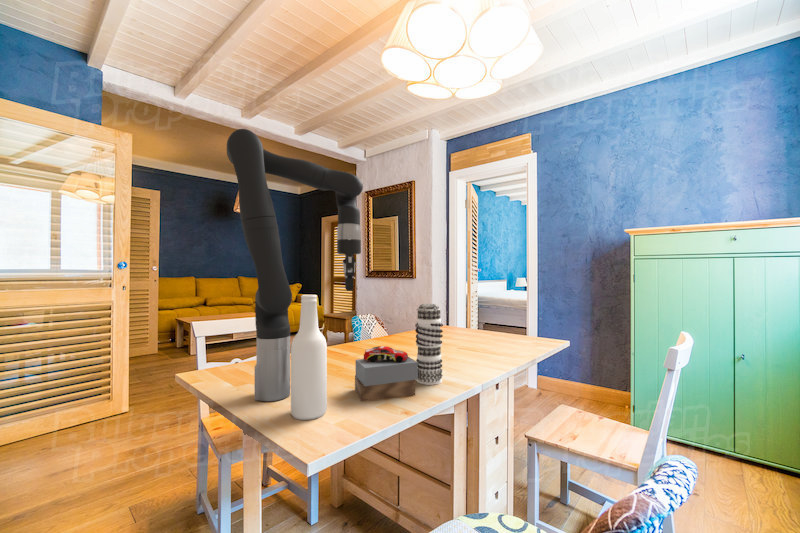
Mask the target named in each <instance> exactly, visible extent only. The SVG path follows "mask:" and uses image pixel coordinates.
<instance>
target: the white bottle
mask: <svg viewBox="0 0 800 533" xmlns="http://www.w3.org/2000/svg"><path fill="white" fill-rule="evenodd" d="M317 297H318V295H317V294H302V295H301V296H300V299H301V300H300V303H301V305H300V306H301V307H300V318H299V329H298V331H297V333H296V334H295V336H294V337H293V338H292V340H291V343H290V414H291V415H292V417H293V418H294V419H296V420H299V421H311V420H315V419H318V418H321V417H323V416H324V415H325V414H326V412H327V409H328V403H327V402H328V395H327V394H328V391H327V390H328V380H327V379H328V376H327V375H328V368H327V367H328V363H327V362H328V361H327V360H328V359H327V358H328V353H327V352H328V348H327V347H328V346H327V345H328V344H327V340H326V337H325V336H324V334H323V333H322V332H321V331H320V328H319V317H318V316H319V315H318V306H317V305H318V304H317V302H318V299H317Z"/></svg>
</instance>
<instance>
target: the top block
mask: <svg viewBox="0 0 800 533" xmlns="http://www.w3.org/2000/svg"><path fill="white" fill-rule="evenodd" d="M355 375H356V377H357V378H358V379H359V381H360V382H361V383H362V384H363V385H364V386H372V385H379V384H387V383H394V382H402V381H410V380H415V381H417V379H418V362H417V361H416V360H415V359H413V358H411V357H410V356H408V359H407V360H404V361H403V360H402V362H401V363H398V362H397V361H377V360H376V361H375V362H371V361H370V360H369V361H368V360H364V359H363V358H359V359H355Z"/></svg>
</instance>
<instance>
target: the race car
mask: <svg viewBox="0 0 800 533" xmlns="http://www.w3.org/2000/svg"><path fill="white" fill-rule="evenodd" d="M408 357H409V355H408V353H407V351H403V350H397V349H395V348H392V347H390V346H386V345H382V346H375V347H371V348H368V349H365V351H364V353H363V358H362V359H364V360H368V361H369V360H370V361H371V362H375V361H376V360H377V361H397V362H398V363H401V362H402V360H403V361H404V360H407V359H408Z"/></svg>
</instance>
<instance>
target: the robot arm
mask: <svg viewBox="0 0 800 533" xmlns="http://www.w3.org/2000/svg"><path fill="white" fill-rule="evenodd" d="M226 156H227V158H228V160H229V161H230V163H231V164H232V165H233V169H234V173H235V175H236V179H237V185H238V204H239V206H238V207H239V215H240V216H239V217H240V221H241V226H242V232H243V235H244V239H245V240H244V241H245V243H246V245H247V248H248V251H249V254H250V256H251V259H252V261H253V264H254V266H255V267H254V268H255V272H256V278H257V287H258V288H257V289H256V292H255V299H254V300H255V304H254V306H255V307H254V309H255V317H254V318H255V319H254V320H255V330H256V361H255V362H256V364H255V365H254V401H261V402H274V401H280V400H284V399H286V398H288V397H289V396H291V325H290V319H289V307H290V306H291V304H292V300H293V293H292V289H291V286H290V283H289V281H288V277H287V274H286V270H285V267H284V262H283V257H282V256H283V255H282V247H281V239H280V233H279V232H280V231H279V228H278V222H277V221H278V220H277V216H276V212H275V209H274V203H273V200H272V196H271V193H270V189H269V186H268V182H267V177H266V174H267V175H273V176H276V177H280V178H284V179H287V180H290V181H293V182H297V183H299V184H301V185H305V186H307V187H310V188H313V189H317V190H318V191H319V190H320V191H333V192H335V201H336V207H337V231H336V241H337V242H336V243H337V244H336V250H337V251H336V253H337V254H339V255H344V256H345V257H344V259H342V268H343V273H344V280H345V281H344V282H345V284H344V287H345V290H346V291H347V292H348V291H349V292H353V291H354V278H355V274H356V273H355V272H356V265H357V264H356V263H357V262H356V259H355V256H354V255H361V254H362V247H361V246H362V229H361V211H360V208H359V207H357V206H358V205H357V197H358V196H360V195H361V193H362V192H363V190H364V185H363V184H364V183H363V182H362V180H361V178H360V177H358V176H357V175H355V174H353V173H351V172H350V173H349V172H346V171H342V170H337V169H336V170H335V169H330V168H328V167H325V166H322V165H320V164H318V163H315V162H311V161H307V160H304V159H299V158H293V157H287V156H284V155H283V156H282V155H278V154H276V153H273V152H270V151H269V150H266V149H264V146H263V143H262V141H261V139H260V138H259V136H258V135H257V134H256V133H254V132H253V131H251V130H250V129H246V128H239V129H236V130H234V131H233V132H232V133H230V135H229V136H228V138H227V141H226Z"/></svg>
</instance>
